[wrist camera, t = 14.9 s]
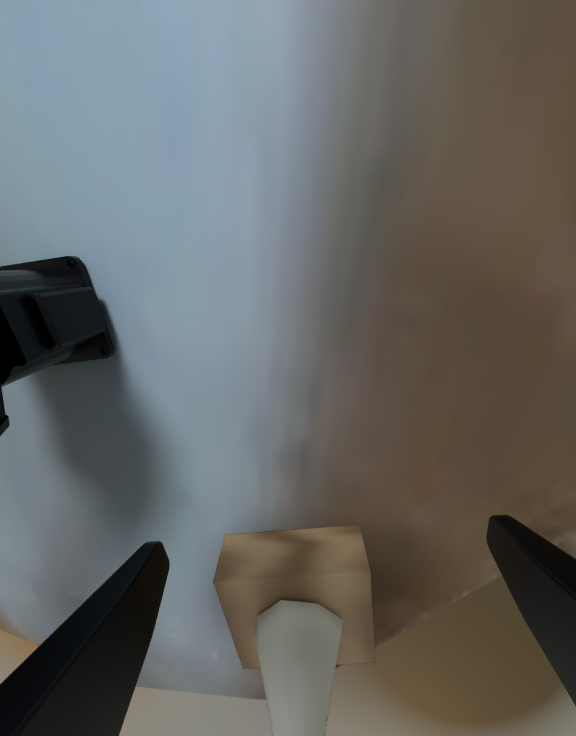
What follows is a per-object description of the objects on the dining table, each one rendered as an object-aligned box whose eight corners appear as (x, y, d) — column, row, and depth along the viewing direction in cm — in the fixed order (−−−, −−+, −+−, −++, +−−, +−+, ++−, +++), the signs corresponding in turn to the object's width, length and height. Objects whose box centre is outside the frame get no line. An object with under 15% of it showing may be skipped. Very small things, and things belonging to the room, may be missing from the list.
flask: (317, 658, 26) (330, 889, 16) (241, 636, 25) (208, 866, 15) (358, 612, 23) (400, 852, 14) (275, 585, 22) (260, 823, 13)
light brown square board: (249, 618, 30) (242, 668, 26) (225, 535, 26) (213, 581, 22) (365, 611, 29) (375, 663, 26) (359, 524, 25) (370, 571, 21)
